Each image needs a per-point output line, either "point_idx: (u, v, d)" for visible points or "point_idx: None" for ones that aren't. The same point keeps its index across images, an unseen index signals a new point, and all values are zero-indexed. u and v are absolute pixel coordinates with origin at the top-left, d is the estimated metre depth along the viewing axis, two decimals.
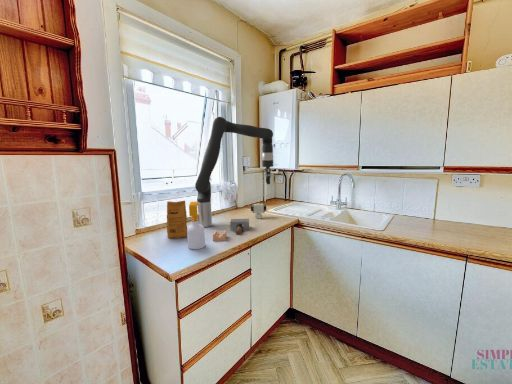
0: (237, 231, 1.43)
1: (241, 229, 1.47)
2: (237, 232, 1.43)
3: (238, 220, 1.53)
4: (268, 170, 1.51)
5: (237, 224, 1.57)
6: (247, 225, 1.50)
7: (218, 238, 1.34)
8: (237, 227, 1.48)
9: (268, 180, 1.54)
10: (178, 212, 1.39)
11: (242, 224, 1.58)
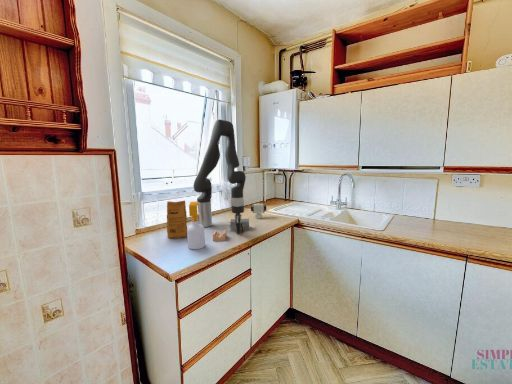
0: None
1: (241, 228, 1.47)
2: None
3: None
4: (237, 222, 1.35)
5: None
6: (247, 225, 1.50)
7: (218, 238, 1.34)
8: None
9: (238, 228, 1.40)
10: (178, 212, 1.39)
11: None
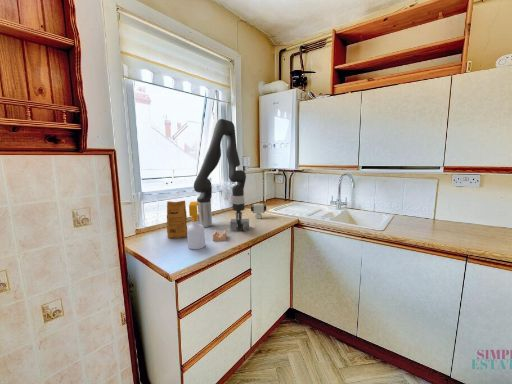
0: None
1: (242, 226, 1.53)
2: None
3: None
4: (238, 219, 1.41)
5: None
6: (247, 225, 1.50)
7: (218, 238, 1.34)
8: None
9: (239, 225, 1.46)
10: (178, 212, 1.39)
11: None
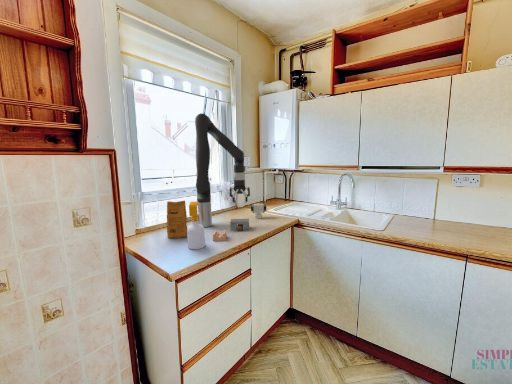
0: (238, 228, 1.49)
1: (242, 226, 1.53)
2: (238, 229, 1.49)
3: (238, 220, 1.53)
4: None
5: None
6: (247, 225, 1.50)
7: (218, 238, 1.34)
8: (238, 224, 1.54)
9: None
10: (178, 212, 1.39)
11: None
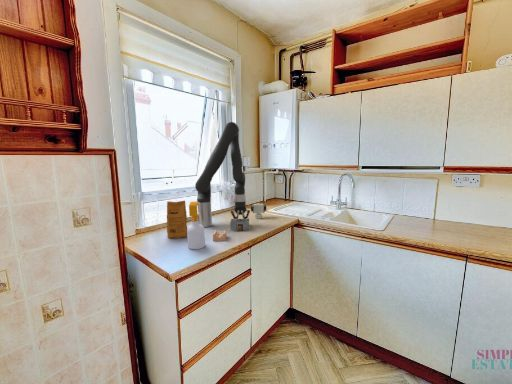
0: (238, 227, 1.49)
1: (242, 226, 1.53)
2: (238, 228, 1.49)
3: (238, 220, 1.53)
4: None
5: None
6: (247, 225, 1.50)
7: (218, 238, 1.34)
8: (238, 224, 1.54)
9: None
10: (178, 212, 1.39)
11: None
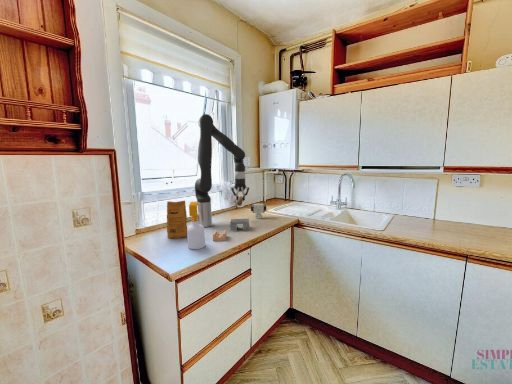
0: (238, 202, 1.56)
1: (242, 201, 1.60)
2: (238, 203, 1.56)
3: (238, 220, 1.53)
4: None
5: (238, 198, 1.71)
6: (247, 225, 1.50)
7: (218, 238, 1.34)
8: (238, 199, 1.62)
9: None
10: (178, 212, 1.39)
11: None
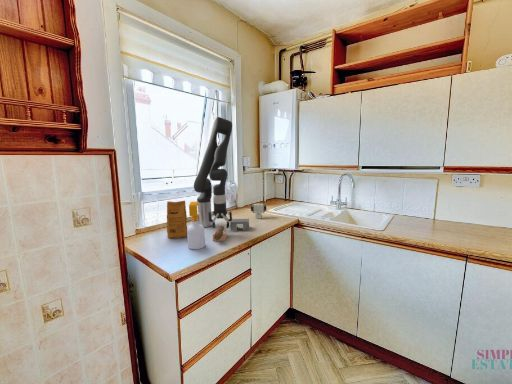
0: (216, 235, 1.28)
1: (221, 233, 1.32)
2: (216, 236, 1.29)
3: (238, 220, 1.53)
4: None
5: (218, 227, 1.43)
6: (247, 225, 1.50)
7: None
8: (217, 231, 1.34)
9: None
10: (178, 212, 1.39)
11: None
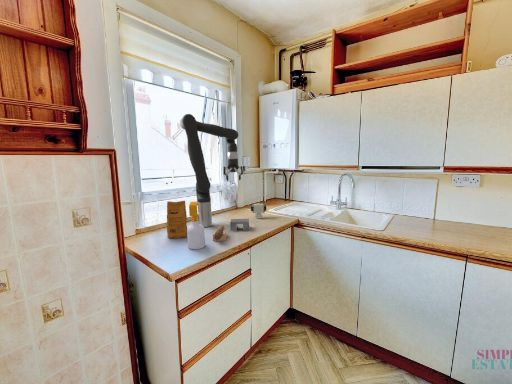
0: (216, 235, 1.28)
1: (221, 233, 1.32)
2: (216, 236, 1.29)
3: (238, 220, 1.53)
4: None
5: (218, 227, 1.43)
6: (247, 225, 1.50)
7: None
8: (217, 231, 1.34)
9: (226, 177, 1.71)
10: (178, 212, 1.39)
11: None
